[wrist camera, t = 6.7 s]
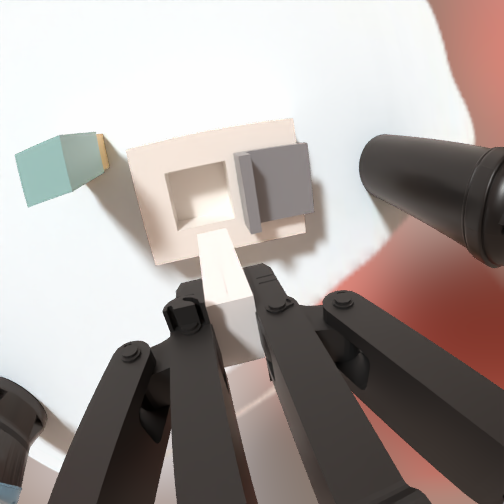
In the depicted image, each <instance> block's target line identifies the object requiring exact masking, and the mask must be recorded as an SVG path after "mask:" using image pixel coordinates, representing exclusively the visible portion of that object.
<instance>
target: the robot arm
mask: <svg viewBox="0 0 504 504" xmlns="http://www.w3.org/2000/svg"><path fill="white" fill-rule="evenodd" d="M197 238H198V248H199V257H200V265H201V274H202V279H198V280H193V281H189V282H185V283H181V284H180V286H179V287H178V289H177V290H176V298H175V299H174V300H172V301H170V302H169V303H168V304H167V305H166V306H165V307H164V309H163V314H164V317H165V320H166V322H167V325H168V327H169V330H170V337H169V338H168V339H167V340H165V341H164V342H162V343H160V344H158V345H155V346H153V347H151V348H150V347H149V345H148V344H147V343H145V342H144V341H132V342H128V343H126V344H124V345H122V346H121V347H120V348H118V349H117V350H116V352H115V353H114V354H113V356H112V358H111V360H110V362H109V364H108V366H107V368H106V370H105V372H104V374H103V376H102V378H101V380H100V382H99V384H98V386H97V388H96V390H95V393H94V395H93V397H92V399H91V401H90V403H89V405H88V407H87V409H86V412H85V414H84V416H83V418H82V420H81V423H80V425H79V427H78V429H77V432H76V434H75V436H74V438H73V441H72V443H71V445H70V448H69V450H68V453H67V455H66V457H65V460H64V462H63V465H62V467H61V470H60V472H59V475H58V477H57V480H56V483H55V485H54V488H53V490H52V493H51V496H50V499H49V502H48V504H154V502H155V497H156V492H157V488H158V483H159V479H160V474H161V469H162V466H163V461H164V457H165V453H166V448H167V444H168V440H169V435H170V431H171V430H172V449H173V463H174V476H175V487H176V496H177V497H176V498H177V504H258V502H257V499H256V495H255V491H254V487H253V484H252V480H251V476H250V473H249V468H248V464H247V461H246V456H245V452H244V448H243V444H242V440H241V436H240V432H239V428H238V424H237V419H236V415H235V410H234V406H233V401H232V397H231V393H230V388H229V384H228V378H227V375H226V372H225V369H224V367H228V366H232V365H237V364H241V363H245V362H249V361H252V360H256V359H260V358H264V357H265V356H266V360H267V365H268V371H269V376H270V381H273V383H274V386H275V389H276V392H277V394H278V397H279V400H280V403H281V405H282V408H283V411H284V413H285V416H286V419H287V422H288V424H289V427H290V430H291V432H292V435H293V438H294V441H295V443H296V446H297V448H298V451H299V454H300V456H301V459H302V461H303V464H304V467H305V469H306V472H307V474H308V477H309V480H310V482H311V485H312V487H313V490H314V492H315V495H316V498H317V500H318V503H319V504H431V502H430V501H429V499H428V498H427V497H426V495H425V494H424V493H422V492H421V491H420V490H419V489H415V488H412V487H410V486H408V485H407V484H406V483H405V481H404V480H403V478H402V477H401V475H400V473H399V471H398V470H397V468H396V466H395V464H394V463H393V461H392V459H391V457H390V456H389V454H388V452H387V451H386V449H385V448H384V446H383V444H382V442H381V440H380V439H379V437H378V435H377V434H376V432H375V431H374V429H373V427H372V425H371V423H370V422H369V420H368V419H367V417H366V415H365V413H364V412H363V410H362V408H361V407H360V405H359V403H358V402H357V400H356V398H355V397H354V395H353V393H354V394H355V395H356V396H357V397H358V398H359V399H360V400H361V401H363V403H365V404H366V405H367V406H368V407H369V408H370V409H371V410H372V411H373V412H374V413H375V414H376V415H377V416H379V417H380V418H381V419H382V420H383V421H384V422H385V423H386V424H387V425H388V426H389V427H390V428H391V429H392V430H394V431H395V432H396V433H397V434H398V435H399V436H400V437H401V438H402V439H404V441H406V442H407V443H408V444H409V445H410V446H411V447H412V448H413V449H414V450H416V451H417V452H418V453H419V454H420V455H421V456H422V457H423V458H425V459H426V460H427V461H428V462H429V463H430V464H431V465H432V466H433V467H435V468H436V469H437V470H438V471H439V472H440V473H442V474H443V475H444V476H445V477H446V478H447V479H448V480H450V481H451V482H452V483H453V484H454V485H455V486H456V487H458V488H459V489H460V490H461V491H462V492H464V493H465V494H466V495H467V496H469V497H470V498H471V499H473V500H474V501H475V502H477V503H478V504H504V390H503V389H501V388H500V387H498V386H497V385H496V384H494V383H493V382H491V381H490V380H488V379H487V378H485V377H484V376H482V375H480V374H479V373H478V372H476V371H475V370H473V369H472V368H471V367H469V366H468V365H466V364H465V363H463V362H462V361H460V360H458V359H457V358H456V357H454V356H453V355H451V354H450V353H448V352H447V351H445V350H444V349H442V348H441V347H439V346H438V345H436V344H435V343H433V342H432V341H430V340H428V339H427V338H426V337H424V336H422V335H421V334H419V333H418V332H416V331H415V330H413V329H411V328H410V327H409V326H407V325H406V324H404V323H403V322H401V321H399V320H398V319H396V318H395V317H393V316H392V315H390V314H389V313H387V312H386V311H384V310H382V309H381V308H379V307H378V306H376V305H374V304H373V303H371V302H370V301H368V300H367V299H365V298H364V297H362V296H360V295H359V294H357V293H355V292H352V291H346V290H341V291H335V292H332V293H330V294H328V295H327V296H325V298H324V299H323V305H318V306H303V305H299V304H298V303H297V301H296V300H295V299H294V298H292V297H289V296H287V295H286V293H285V291H284V290H283V288H282V286H281V285H280V283H279V281H278V280H277V278H276V276H275V275H274V273H273V271H272V269H271V268H270V267H269V266H267V265H265V264H263V263H262V264H258V265H253V266H249V267H245V268H242V266H241V264H240V261H239V259H238V256H237V254H236V251H235V249H234V246H233V244H232V241H231V239H230V236H229V234H228V231H227V229H226V228H223V229H219V230H214V231H210V232H206V233H201V234H197ZM264 353H265V355H264ZM351 391H352V392H353V393H352V392H351ZM46 420H47V416H46V413H45V410H44V409H43V407H42V406H41V404H40V403H39V402H38V401H37V400H36V399H35V398H34V397H33V396H32V395H31V394H30V393H28V392H27V391H26V390H25V389H23V388H22V387H20V386H19V385H17V384H15V383H14V382H12V381H10V380H8V379H5V378H2V377H0V504H17V502H18V499H19V495H20V492H21V490H22V488H21V486H22V481H23V476H24V471H25V466H26V462H27V458H28V453H29V449H30V447H31V445H32V444H33V443H34V441H35V440H36V439H37V437H38V436H39V435H40V434H41V432H42V431H43V430H44V427H45V424H46Z"/></svg>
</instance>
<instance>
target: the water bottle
mask: <svg viewBox="0 0 504 504" xmlns="http://www.w3.org/2000/svg"><path fill="white" fill-rule="evenodd" d="M359 172H360V178H361V181H362V183H363V185H364V187H365V188H366V190H367V191H368V192H369V193H371V194H372V195H374V196H376V197H378V198H379V199H381V200H383V201H385V202H387V203H389V204H391V205H393V206H395V207H397V208H399V209H400V210H402V211H404V212H406V213H408V214H410V215H411V216H413V217H415V218H417V219H419V220H420V221H422V222H424V223H426V224H427V225H429V226H431V227H433V228H434V229H436V230H438V231H439V232H441V233H443V234H444V235H446V236H448V237H449V238H451V239H453V240H454V241H456V242H458V243H459V244H461V245H462V246H464V247H466V248H467V250H468V251H469V252H470V253H471V254H472V255H473V257H474V258H476V259H477V260H479V261H481V262H482V263H484V264H485V265H487V266H489V267H491V268H497V267H501V266H504V147H495V148H491V149H490V148H485V147H481V146H475V145H469V144H463V143H457V142H451V141H444V140H436V139H428V138H419V137H410V136H399V135H387V134H383V135H379V136H376V137H374V138H373V139H371V140H370V141H369V142H368V143H367V145H366V146H365V148H364V149H363V151H362V154H361V157H360V162H359Z"/></svg>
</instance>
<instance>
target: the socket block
mask: <svg viewBox="0 0 504 504" xmlns="http://www.w3.org/2000/svg"><path fill="white" fill-rule="evenodd" d="M288 144H296V137H295V129H294V122H293V118H290V119H278V120H270V121H262V122H255V123H248V124H241V125H235V126H229V127H223V128H218V129H212V130H207V131H202V132H197V133H192V134H187V135H182V136H178V137H173V138H169V139H165V140H161V141H157V142H153V143H149V144H145V145H141V146H137V147H133V148H131V149H128V150H126V153H127V158H128V163H129V167H130V171H131V176H132V180H133V184H134V188H135V192H136V196H137V200H138V204H139V208H140V212H141V216H142V219H143V223H144V227H145V230H146V234H147V237H148V241H149V244H150V248H151V251H152V254H153V258H154V261H155V264H156V266H157V265H162V264H166V263H170V262H175V261H179V260H184V259H188V258H193V257H197V256H199V248H198V238H197V234H201V233H206V232H210V231H214V230H219V229H223V228H226V229H227V231H228V234H229V236H230V239H231V241H232V244H233V246H234V248H238V247H242V246H247V245H251V244H256V243H260V242H265V241H270V240H274V239H279V238H283V237H288V236H293V235H297V234H302V233H306V229H305V218H304V214H302V215H297V216H292V217H287V218H283V219H278V220H273V221H268V222H263V223H261V228H262V232H260V233H256V234H251V233H250V232H249V230H248V228H247V226H246V225H245V222H244V216H243V210H242V204H241V198H240V192H239V186H238V180H237V174H236V168H235V162H234V156H233V153H237V152H243V151H249V150H255V149H261V148H268V147H274V146H281V145H288Z"/></svg>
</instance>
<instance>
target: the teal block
mask: <svg viewBox="0 0 504 504" xmlns="http://www.w3.org/2000/svg"><path fill="white" fill-rule="evenodd" d="M15 158H16V163H17V167H18V172H19V176H20V180H21V184H22V188H23V191H24V195H25V199H26V202H27V206H28V207H31V206H33V205H36V204H39V203H41V202H44V201H47V200H50V199H53V198H55V197H58V196H61V195H64V194H67V193H70V192H73V191H74V190H76V189H78V188H79V187H81V186H82V185H84V184H86V183H87V182H89V181H91V180H92V179H94V178H96V177H98V176H99V175H101V174H103V173H104V170H105V169H107V168H109V163H108V158H107V153H106V149H105V144H104V139H103V134H96V132H89V133H77V134H67V135H59V136H56V137H54V138H51V139H49V140H47V141H44V142H42V143H40V144H37V145H35V146H33V147H30V148H28V149H26V150H24V151H22V152H20V153H18V154H15Z"/></svg>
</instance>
